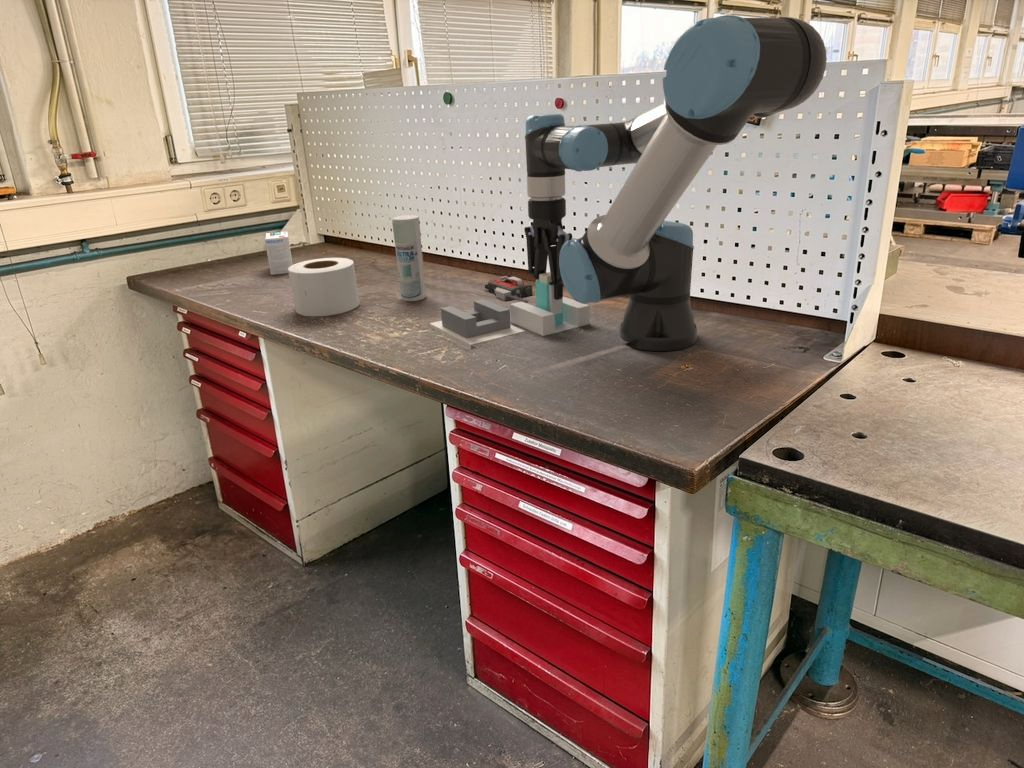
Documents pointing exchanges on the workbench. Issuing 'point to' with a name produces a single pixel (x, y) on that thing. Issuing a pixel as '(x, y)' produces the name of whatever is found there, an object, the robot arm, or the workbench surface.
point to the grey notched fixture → (475, 323)
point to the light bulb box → (278, 252)
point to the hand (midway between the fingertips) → (549, 310)
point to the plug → (546, 296)
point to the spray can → (409, 257)
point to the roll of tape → (324, 286)
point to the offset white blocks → (550, 317)
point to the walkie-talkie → (509, 288)
